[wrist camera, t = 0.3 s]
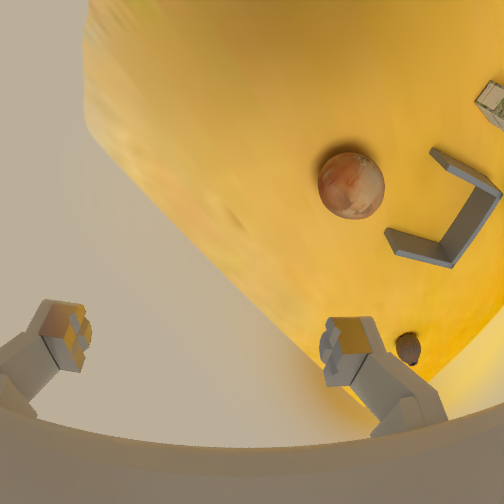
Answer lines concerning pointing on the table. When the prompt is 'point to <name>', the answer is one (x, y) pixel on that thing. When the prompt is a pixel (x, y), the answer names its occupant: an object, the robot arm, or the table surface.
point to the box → (462, 227)
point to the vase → (408, 349)
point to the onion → (351, 185)
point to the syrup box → (492, 104)
